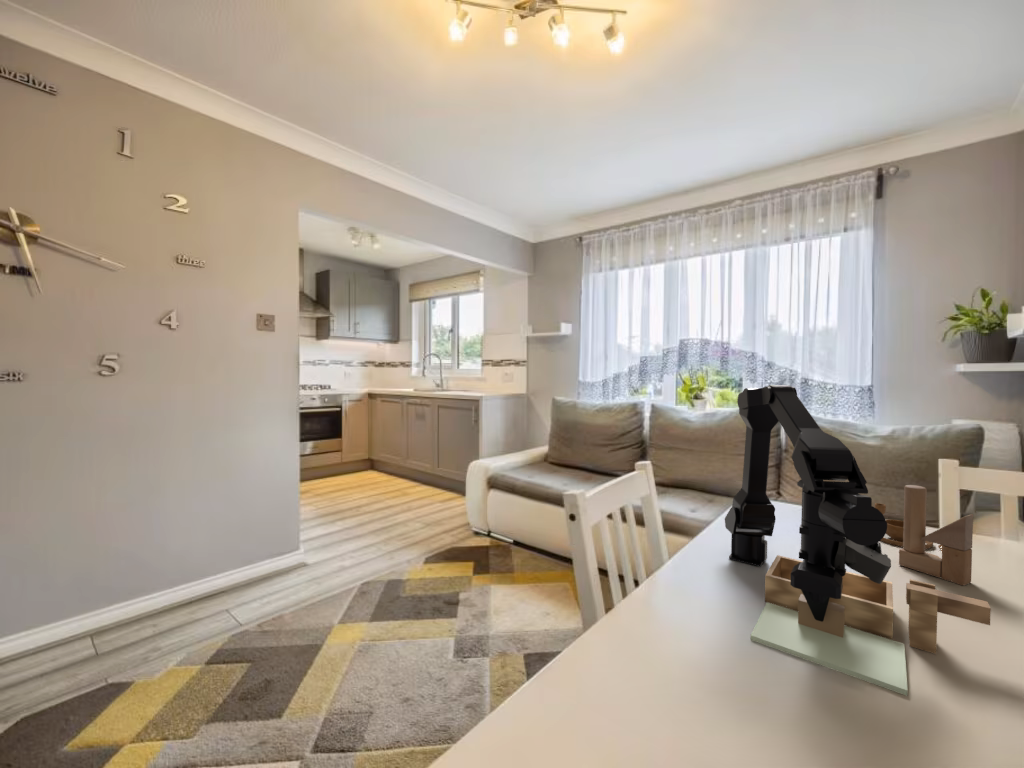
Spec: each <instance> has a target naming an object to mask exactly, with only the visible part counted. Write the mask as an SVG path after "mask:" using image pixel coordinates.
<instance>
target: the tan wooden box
mask: <svg viewBox="0 0 1024 768" xmlns="http://www.w3.org/2000/svg"><path fill="white" fill-rule="evenodd" d="M800 562H803V560H801V559H800V560H799V559H795V558H792V557H787V556H784V555H779V554H777V555H776V557H775V558H774V560H773V562H772V563H771V565H770V567H769V569H768V570H767V572H766V573H765V576H764V579H765V580H764V583H765V584H764V585H765V586H764V602H766V603H771V604H774V605H777V606H781V607H784V608H787V609H791V610H794V611H797V612H798V600H799V597H800V595H801V594H803V593H802V591H801V589H797V588H794V587H793V586H791V585H790V582H791V572H792V569H793V567H794V566H795V565H797V564H798V563H800ZM842 578H843V589H842V595H841V599H834V598H830V599H829V602H832V603H836V604H839V605H843V606H845V620H844V626H847V627H850V628H854V629H857V630H860V631H863V632H867V633H870V634H873V635H877V636H880V637H883V638H887V639H890V640H893V639H894V638H893V637H894V594H893V592H894V591H893V589H894V588H893V581H889V580H885V579H884V580H883V581H882V583H881V584H878V583H875V582H873V581H871V580H870V579H869V578H868V577H866V576H864V575H862V574H860V573H854V572H852V571H851V572H850V571H847V570H846V574H845V575H844V576H843V577H842ZM909 584H914V585H918V586H922V587H927V588H931V589H935V590H936V584H935V583H933V584H932V583H929V582H925V581H919V580H916V579H911V578H910V579H909ZM937 604H938V595H937V594H935V593H931V592H926V591H922V590H918V589H914V588H911V599H910V605H908V627H907V628H908V629H907V631H908V633H907V634H908V644H909V647H911V648H914V649H918V650H922V651H925V652H927V653H930V654H935V655H937V639H938V637H937V636H938V635H937V633H938V632H937V630H938V612H937ZM893 641H894V640H893Z"/></svg>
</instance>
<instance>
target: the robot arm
mask: <svg viewBox="0 0 1024 768" xmlns="http://www.w3.org/2000/svg"><path fill="white" fill-rule="evenodd" d="M736 404H737V407H738V412H739V413H738V414H739V416H740V418H741V420H742V421H743V423H744V424H745V428H746V429H745V439H744V440H745V443H744V452H743V453H744V454H743V469H742V480H741V481H742V483H741V484H742V485H741V488H740V490H739V491H738V492H737V493H736V494H735V495H734V496H733V497H732V498H733V499H732V504H731V507H730V508H729V510H728V512H727V514H726V515H725V518H724V525H725V529H726V530H727V531H729V533H730V534H731V539H730V540H731V544H730V545H731V546H730V547H731V549H730V550H731V552H730V555H728V558H729V559H730V560H732V561H736V562H737V561H738V562H741V563H745V564H749V565H753V566H755V567H761V566H762V565H763V563H765V562H766V561H767V559H768V541H767V540H766V539H765V538H766V537H767V536H768V537H772V536H773V532H774V528H775V524H776V515H775V511H776V508H775V505H774V504H773V503H772V502H771V500H770V499H769V497H768V495H767V490H768V489H767V488H768V478H769V476H768V475H769V465H770V451H771V450H770V449H771V442H772V441H771V440H772V438H771V437H772V431H773V430H774V428H775V427H776V425H778V423H780V425H781V428H782V429H783V430H784V432H785V434H786V435H787V438H789V440H790V442H791V444H792V446H793V451H792V453H791V459H792V461H793V465H794V468H795V471H796V472H797V474H798V476H799V478H800V480H798V481H797V483H796V485H797V486H798V487H800V488H801V520H800V521H801V524H800V525H799V529H798V530H799V532H798V533H799V534H800V549H799V550H798V559H800V560H802V561H803V562H800V563H798V564H797V565H795V566H794V567H793V569H792V572H791V582H790V585H791V586H793V587H794V588H797V589H801V591H802V593H803V595H804V597H805V599H806V601H807V603H808V605H809V607H810V610H811V612H812V614H813V616H814V618H815V620H818V621H821V622H823V620H824V617H825V613H826V610H827V606H828V602H829V599H830V598H834V599H841V595H842V589H843V578H842V577H843V576H844V575H845V574H846V571H847V568H846V567H848V568H849V569H850V570H853V571H855V572H857V573H858V574H860V575H864V576H866V577H868V578H869V579H870V580H871V581H873V582H875V583H878V584H881V583H882V581H883V580H885V578H886V576H887V574H888V573H889V571H890V570H891V567H892V560H891V558H890V557H888V554H886V553H884V554H883V552H882V545H881V543H882V542H881V541H880V540H881V539H882V538H883V537H884V538H885V536H886V535H887V534H886V531H887V522H886V520H887V519H886V518H885V516H884V514H882V513H881V512H880V511H879V510H878V509H876V508H875V506H872V505H873V502H872V501H873V500H872V497H871V496H869V495H867V494H869V490H868V487H867V485H866V484H867V483H868V482H867V480H866V478H865V476H864V475H863V473H862V471H861V468H860V467H859V465H858V463H857V460H856V458H855V455H854V454H853V453H852V451H851V450H850V449H849V448H848V447H847V446H846V445H845V444H844V443H843V442H842V440H840V439H839V438H838V437H835V436H834V435H831V434H829V433H827V432H825V431H824V430H823V429H822V428H821V427H820V426H819V424H818V423H817V421H816V420H815V419H814V417H813V416H812V415H811V413H810V412H809V410H808V409H807V408H806V406H805V405H804V404H803V402H802V401H801V399H800V398H799V396H798V391H797V389H796V387H795V386H791V385H788V384H785V385H783V384H782V385H781V384H769V385H767V386H763V387H760V388H759V387H758V388H757V387H754V388H753V387H750V388H749V387H747V388H746V387H745V388H744V389H743V391H741V392H739V393H738V396H737V403H736Z"/></svg>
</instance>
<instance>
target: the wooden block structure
mask: <svg viewBox="0 0 1024 768" xmlns="http://www.w3.org/2000/svg"><path fill="white" fill-rule="evenodd" d="M927 491H928V489H927V488H926V487H925V486H921V485H916V484H906V485H904V494H903V495H904V498H903V500H904V501H903V521H904V531H903V547H902V548H901V549H899V551H898V565H899V566H901V567H905V568H907V569H911V570H914V571H917V572H920V573H923V574H926V575H930V576H933V577H935V578H938V579H941V580H944V581H946V582H950V583H952V584H956V585H960V586H966V585H968V584H971V583H972V571H973V569H972V568H973V567H972V566H973V565H972V564H973V561H972V560H973V549H972V548H973V533H974V532H973V531H974V529H973V528H974V514H971V513H970V514H969V515H965V516H963V517H960V518H959V519H956V520H955V521H953V522H950V523H949V524H947V525H945V526H942V527H941V528H938V529H937V530H935V531H933V532H931V533H928V534H927V533H926V528H927V497H928V495H927ZM925 541H929V542H933V544H936V545H937V544H938V545H943V546H942V553H941V557H940V556H938V555H937V554H933V553H929V552H926V549H925V544H926V543H925Z"/></svg>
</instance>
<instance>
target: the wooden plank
mask: <svg viewBox="0 0 1024 768" xmlns="http://www.w3.org/2000/svg"><path fill="white" fill-rule="evenodd" d="M905 584H906V585H905V586H906V588H905V589H906V591H905V600H906V601H905V603H906V605H908V606H909V605H910V599H911V588H914V589H918V590H922V591H926V592H931V593H935V594H937V595H938V604H937V613H940V614H944V615H949V616H952V617H956V618H959V619H963V620H968V621H971V622H976V623H979V624H984V625H987V626H991V614H992V613H991V612H992V611H991V606H990V604H989V602H988V601H986V600H982V599H979V598H978V599H977V598H973V597H968V596H964V595H960V594H957V593H951V592H947V591H943V590H940V589H939V590H938V589H936V588H935V589H931V588H927V587H922V586H918V585H914V584H910V582H909V583H908V582H906V583H905Z"/></svg>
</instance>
